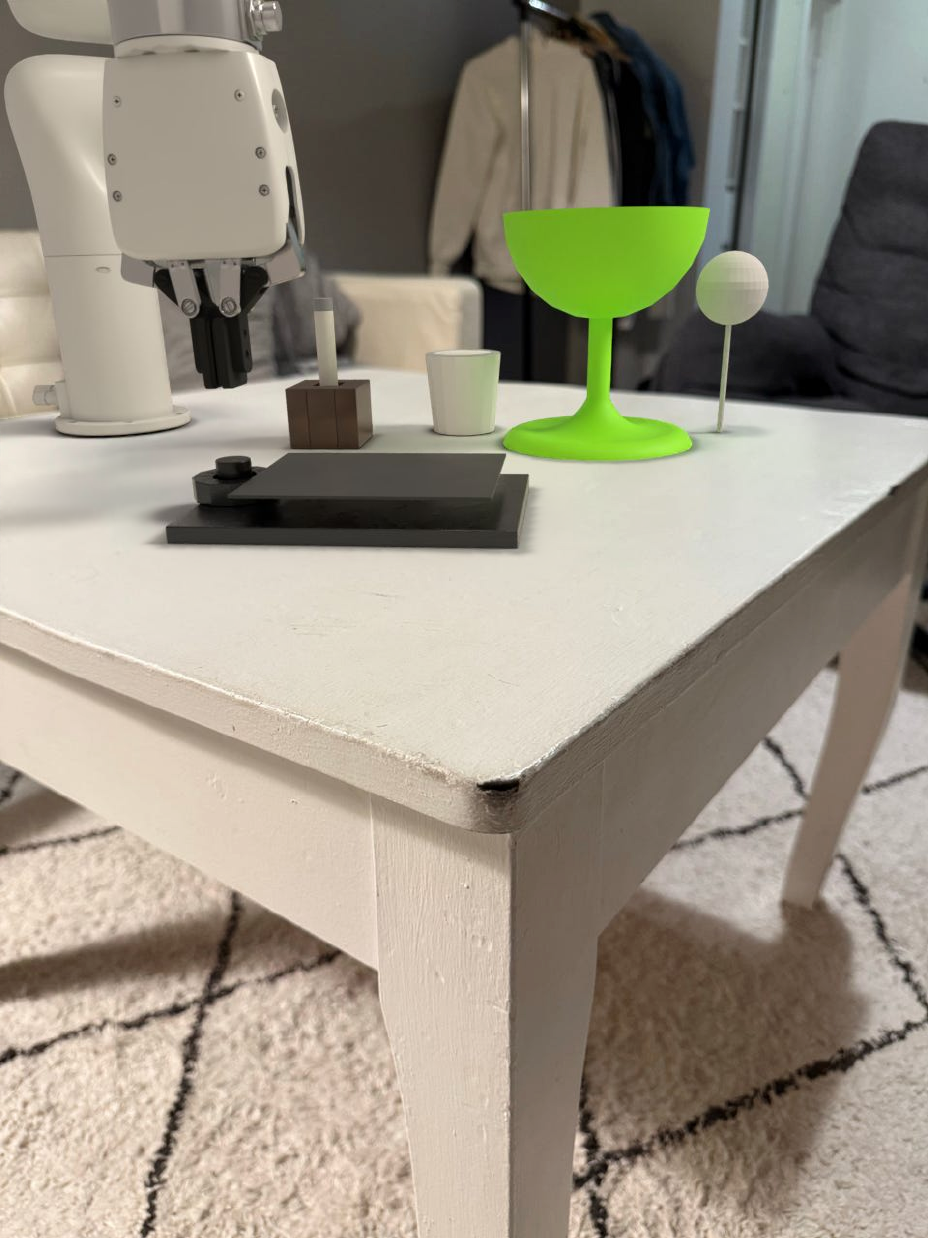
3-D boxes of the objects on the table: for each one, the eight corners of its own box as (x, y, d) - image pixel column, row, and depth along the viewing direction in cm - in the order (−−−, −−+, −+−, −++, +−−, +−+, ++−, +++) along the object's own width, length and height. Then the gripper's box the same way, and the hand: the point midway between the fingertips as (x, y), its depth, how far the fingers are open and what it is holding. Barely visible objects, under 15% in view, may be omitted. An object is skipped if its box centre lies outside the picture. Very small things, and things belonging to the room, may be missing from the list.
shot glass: (494, 437, 81) (494, 355, 79) (419, 435, 82) (416, 355, 80) (506, 423, 87) (506, 347, 85) (436, 422, 89) (434, 348, 86)
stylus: (321, 443, 80) (310, 298, 75) (326, 440, 81) (315, 297, 77) (339, 443, 80) (329, 298, 75) (343, 440, 81) (334, 297, 77)
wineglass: (546, 421, 88) (549, 217, 81) (712, 432, 81) (731, 211, 74) (470, 452, 75) (466, 212, 68) (661, 468, 68) (678, 203, 61)
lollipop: (758, 438, 78) (777, 249, 73) (687, 438, 79) (701, 251, 74) (749, 426, 84) (766, 250, 78) (683, 425, 85) (695, 251, 79)
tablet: (154, 544, 52) (148, 502, 51) (237, 487, 65) (233, 452, 64) (517, 550, 50) (517, 505, 49) (528, 489, 63) (529, 453, 62)
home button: (212, 484, 57) (209, 462, 56) (224, 476, 59) (222, 455, 58) (246, 484, 56) (244, 462, 56) (257, 476, 59) (255, 455, 58)
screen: (227, 498, 52) (227, 495, 52) (288, 455, 63) (288, 452, 63) (491, 500, 50) (491, 497, 50) (506, 456, 61) (506, 453, 61)
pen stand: (290, 448, 78) (284, 388, 76) (308, 435, 84) (304, 379, 82) (359, 448, 77) (355, 388, 76) (373, 435, 83) (370, 379, 81)
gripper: (339, 40, 51) (361, 377, 58) (87, 55, 53) (136, 381, 59) (303, 4, 44) (332, 392, 51) (13, 23, 46) (78, 396, 52)
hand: (226, 385), depth 55 cm, fingers closed
